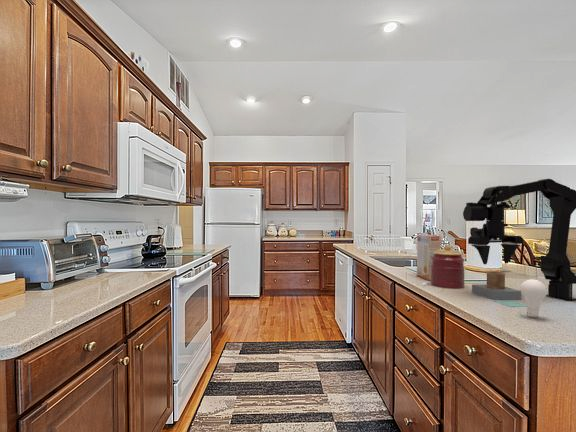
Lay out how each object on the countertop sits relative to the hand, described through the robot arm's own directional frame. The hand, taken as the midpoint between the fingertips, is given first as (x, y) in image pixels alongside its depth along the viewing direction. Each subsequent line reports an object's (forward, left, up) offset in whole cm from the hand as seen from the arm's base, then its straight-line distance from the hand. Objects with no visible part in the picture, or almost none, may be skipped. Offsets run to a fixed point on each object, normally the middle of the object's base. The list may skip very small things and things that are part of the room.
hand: (495, 263), depth 120 cm
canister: (+7, -20, -13) cm, 24 cm away
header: (0, -1, -12) cm, 12 cm away
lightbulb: (+7, +23, -13) cm, 27 cm away
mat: (+3, +10, -12) cm, 16 cm away
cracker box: (+5, -39, -13) cm, 41 cm away
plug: (0, -1, -12) cm, 12 cm away
